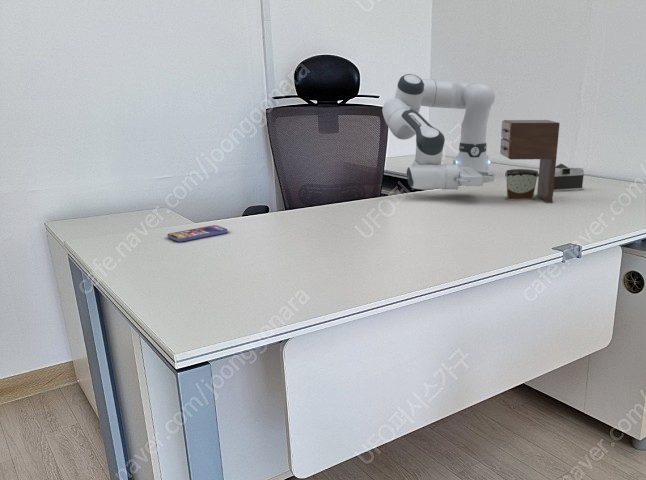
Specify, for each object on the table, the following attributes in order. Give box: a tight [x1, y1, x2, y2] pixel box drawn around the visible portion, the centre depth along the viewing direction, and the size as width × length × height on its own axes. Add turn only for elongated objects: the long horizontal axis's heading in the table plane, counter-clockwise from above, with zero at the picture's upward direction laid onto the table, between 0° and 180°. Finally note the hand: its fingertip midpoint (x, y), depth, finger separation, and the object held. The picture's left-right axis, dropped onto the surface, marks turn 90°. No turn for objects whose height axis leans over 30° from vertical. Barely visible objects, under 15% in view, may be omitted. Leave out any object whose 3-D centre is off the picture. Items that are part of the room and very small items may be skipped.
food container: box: [504, 168, 539, 200], centre depth 215 cm, size 12×6×10 cm, turn 94°
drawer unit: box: [499, 119, 561, 204], centre depth 210 cm, size 14×17×27 cm
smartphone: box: [166, 224, 228, 242], centre depth 164 cm, size 1×7×15 cm
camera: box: [553, 163, 585, 192], centre depth 232 cm, size 16×9×10 cm, turn 108°
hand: (490, 176), depth 213 cm, fingers open, 8 cm apart
